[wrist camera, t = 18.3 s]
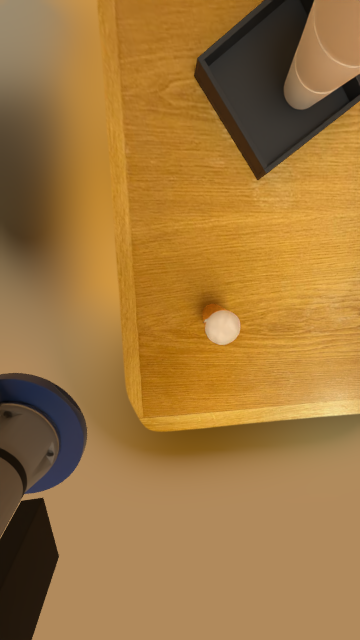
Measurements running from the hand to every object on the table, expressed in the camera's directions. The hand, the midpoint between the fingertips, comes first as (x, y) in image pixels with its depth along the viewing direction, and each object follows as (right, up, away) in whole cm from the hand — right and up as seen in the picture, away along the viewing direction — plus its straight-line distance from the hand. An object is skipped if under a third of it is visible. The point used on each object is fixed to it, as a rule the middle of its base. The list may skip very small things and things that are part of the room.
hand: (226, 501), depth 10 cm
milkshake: (+3, +8, +33) cm, 34 cm away
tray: (+11, +37, +26) cm, 46 cm away
